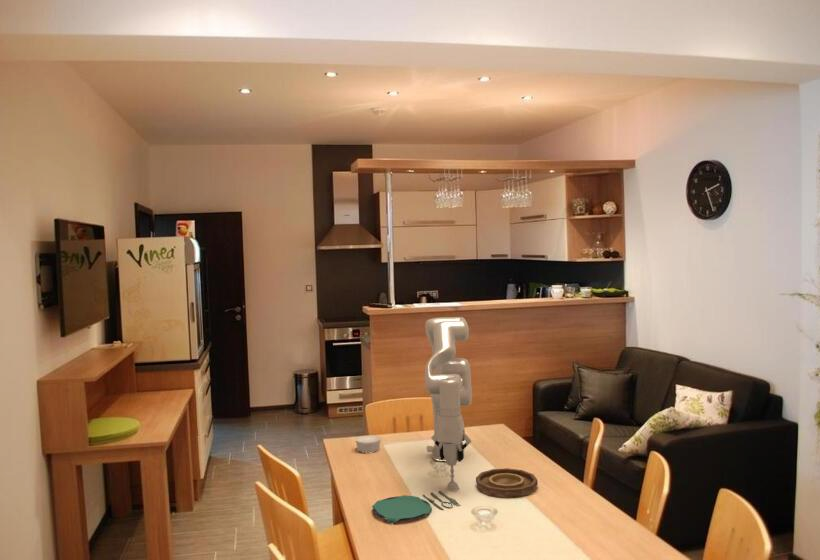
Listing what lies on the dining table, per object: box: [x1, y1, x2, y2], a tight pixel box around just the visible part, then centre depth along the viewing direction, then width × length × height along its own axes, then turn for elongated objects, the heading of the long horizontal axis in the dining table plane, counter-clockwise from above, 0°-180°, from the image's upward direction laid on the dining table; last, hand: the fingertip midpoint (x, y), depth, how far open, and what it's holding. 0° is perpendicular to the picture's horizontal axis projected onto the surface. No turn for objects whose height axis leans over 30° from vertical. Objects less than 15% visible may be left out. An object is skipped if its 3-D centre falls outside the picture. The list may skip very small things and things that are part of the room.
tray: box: [475, 467, 539, 499], centre depth 238 cm, size 22×22×3 cm
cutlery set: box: [371, 490, 462, 525], centre depth 221 cm, size 20×30×2 cm, turn 116°
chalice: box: [443, 443, 460, 492], centre depth 238 cm, size 7×7×18 cm
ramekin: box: [355, 434, 382, 453], centre depth 288 cm, size 11×11×5 cm
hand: (451, 459), depth 237 cm, fingers closed on chalice, 6 cm apart
